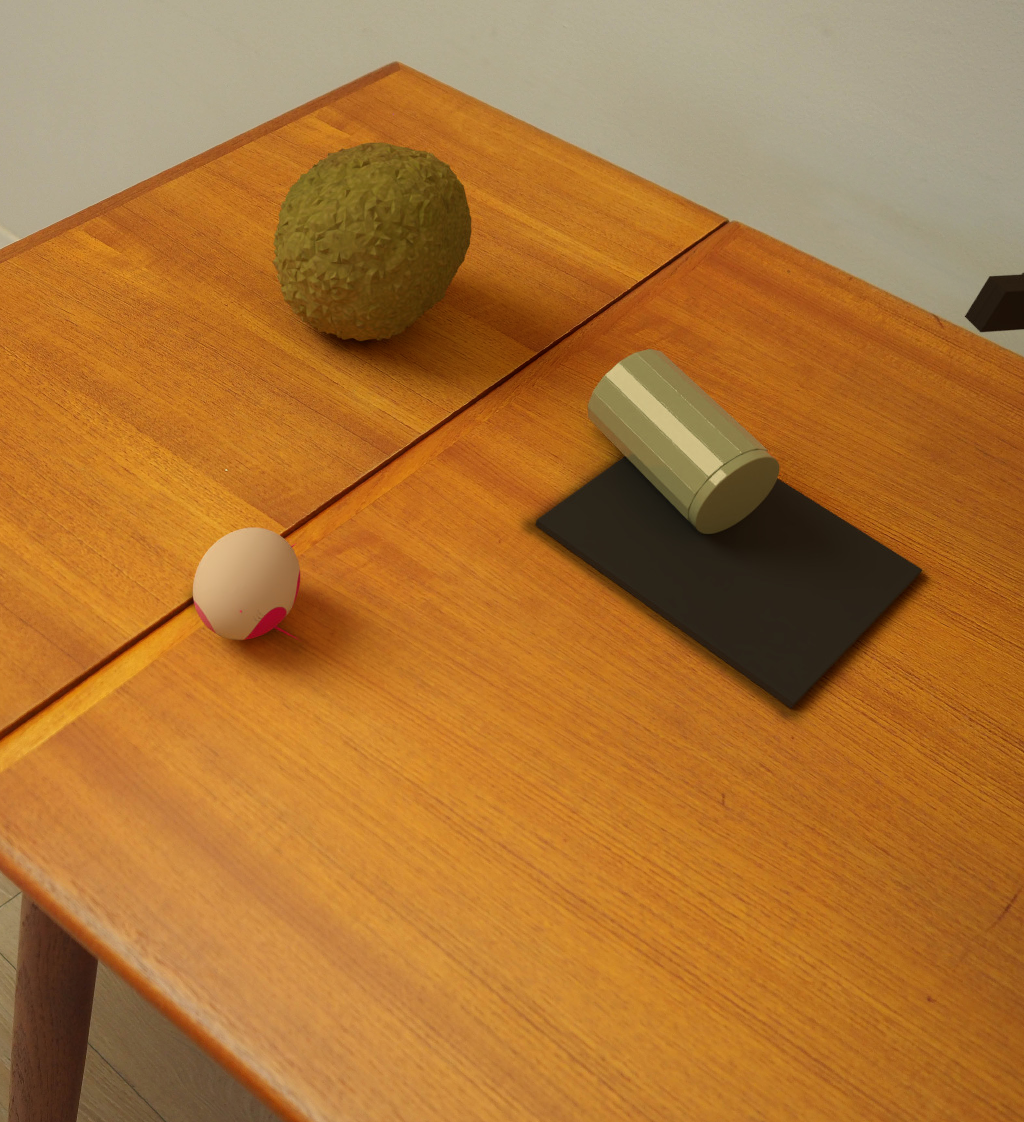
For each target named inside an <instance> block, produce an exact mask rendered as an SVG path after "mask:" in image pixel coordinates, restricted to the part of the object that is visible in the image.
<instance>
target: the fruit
mask: <svg viewBox="0 0 1024 1122" xmlns="http://www.w3.org/2000/svg"><path fill="white" fill-rule="evenodd" d="M280 208H281V210H280V211H279V213H278V223H277V225H276V230H275V233H274V234H273V235H274V240H273V246H274V248H275V249H274V250H273V253H274V255H275V258H274V259H273V260H272V261H271V262H272V265H273V266H274V268H275V269H276V272H277V275H276V278H277V279H278V281H279V284H280V291H281V294H282V296H283V301H284V302H285V303H286V304H288V305H289V306H290V308H291V310H292V312H293V314H295V315H297V316H299V317H300V318H301V321H302V322H303V323H308V324H310V326H312V327H313V328H316V329H317V331H318V333H326V334H327V335H329V334H332V335H335V336H336V337H337V338H338V339H342V340H343V341H345V340H350V339H355V340H356V341H358V342H363V341H368V340H374V339H375V340H377V341H382V340H383V339H386V340H390V339H391V338H392V336H397V335H401V334H402V333H403V332H405V330H406V329H407V328H410V327H411V326H412V325H413V324H414V323H415V322H416V321H417V320H418V319H421V317H422V316H424V315H425V313H426V312H428V311H429V310H431V309H433V307H434V306H435V305H436V304H438V303H439V302H441V301H442V300H443V299H444V298H445V297H446V292H447V290H448V288H449V286H451V284H452V281H453V279H454V278H455V276H456V274H457V273H458V271H459V268H460V267H461V266H462V264H463V263H464V261H465V259H466V255H467V253H468V250H469V247H470V245H471V237H472V231H473V230H472V216H471V210H470V207H469V204H468V199H467V194H466V189H465V186H464V184H463V183H462V182H461V180H460V179H458V176H457V174H456V173H455V172H454V170H452V169H451V165H450V164H448V163H446V162H445V161H443V160H440V159H439V158H438V157H437V156H435V154H434V153H433V152H428V151H427V150H415V149H413V148H410V147H406V146H398V145H394V144H391V143H387V142H365V143H361V144H359V145H355V146H351V147H349V148H341V149H339V150H338V151H336V152H328V153H327V156H326V157H325V158H323V159H319V160H318V161H317V163H316V164H315V163H314V164H313V165H312V167H311V168H309V169H308V171H307V173H302V174H301V173H300V177H299V178H298V179H297V180H296V182H294V183H293V184H292V185H291V186H290V187H289V191H287V194H286V195H285V200H283V201H282V202H281V205H280Z"/></svg>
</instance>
